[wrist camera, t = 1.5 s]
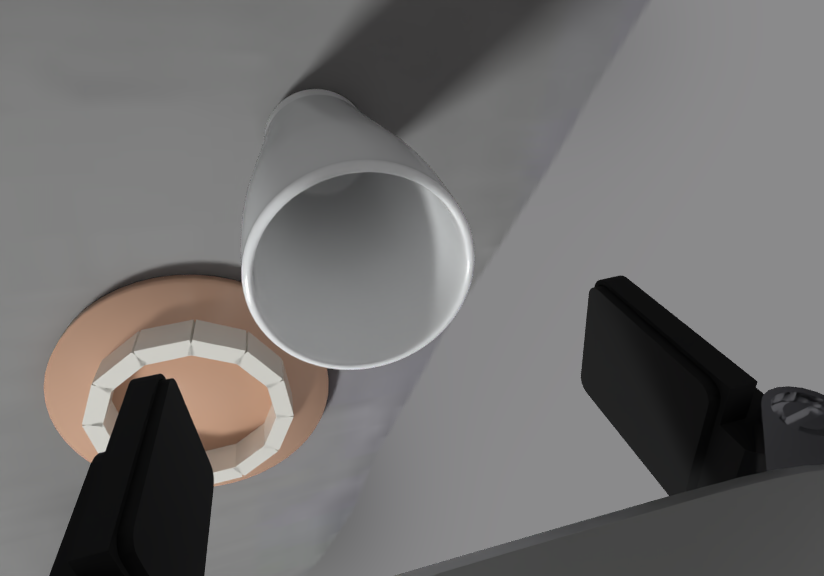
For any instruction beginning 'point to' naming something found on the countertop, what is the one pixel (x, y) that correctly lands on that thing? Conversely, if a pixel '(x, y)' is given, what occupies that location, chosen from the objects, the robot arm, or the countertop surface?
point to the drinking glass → (349, 238)
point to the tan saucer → (186, 372)
